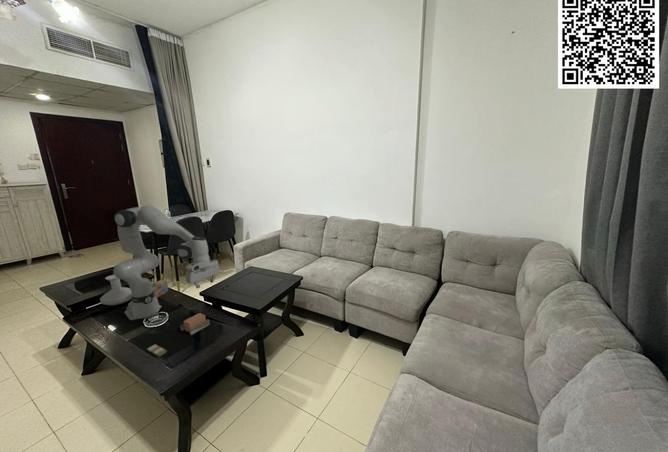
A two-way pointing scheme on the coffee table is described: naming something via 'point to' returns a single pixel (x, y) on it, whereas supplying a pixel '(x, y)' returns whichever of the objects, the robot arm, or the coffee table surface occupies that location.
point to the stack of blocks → (159, 287)
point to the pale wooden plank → (160, 351)
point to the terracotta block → (194, 321)
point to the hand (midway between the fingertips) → (205, 284)
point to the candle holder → (116, 292)
